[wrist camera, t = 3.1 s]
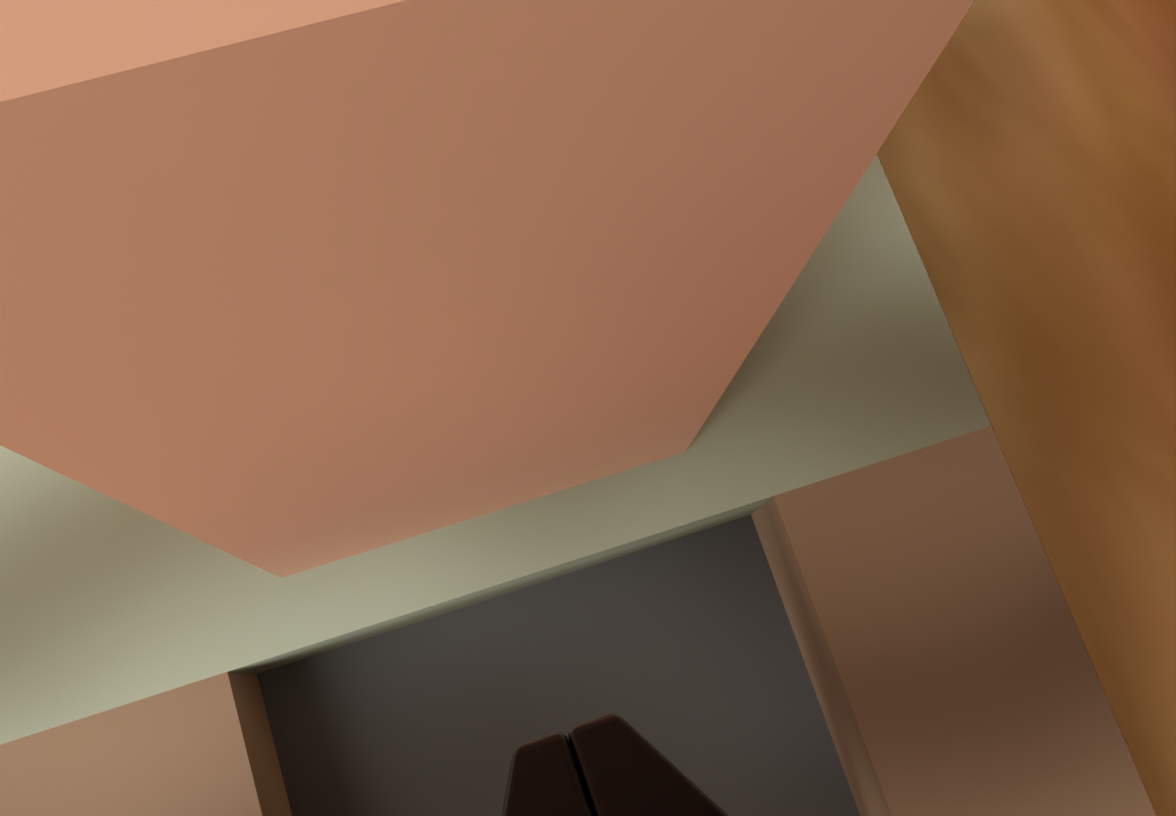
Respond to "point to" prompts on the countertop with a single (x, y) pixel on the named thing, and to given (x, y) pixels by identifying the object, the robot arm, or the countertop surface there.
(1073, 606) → the countertop surface
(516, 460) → the terracotta block
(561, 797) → the robot arm
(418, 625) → the trap board
